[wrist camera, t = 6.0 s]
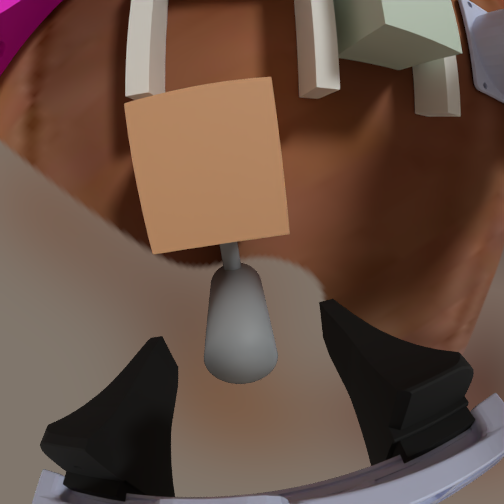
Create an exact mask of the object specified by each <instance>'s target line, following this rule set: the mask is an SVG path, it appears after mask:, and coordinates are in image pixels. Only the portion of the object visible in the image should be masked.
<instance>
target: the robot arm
mask: <svg viewBox="0 0 504 504" xmlns="http://www.w3.org/2000/svg"><path fill="white" fill-rule="evenodd" d="M458 2H459V5H460V9H461V13H462V17H463V21H464V25H465V30H466V34H467V40H468V45H469V51H470V57H471V64H472V72H473V81H474V85H475V87H476V89H477V90H478V91H480V92H482V93H485V94H487V95H489V96H491V97H493V98H495V99H496V100H498V101H500V102H502V103H504V9H501V10H497V11H493V12H489V13H487V12H486V11H484V10H483V9H481V8H480V7H478V6H477V5H475V4H474V3H472V2H471V1H469V0H458ZM319 304H320V312H321V321H322V330H323V338H324V341H325V344H326V347H327V350H328V352H329V355H330V357H331V359H332V361H333V363H334V365H335V367H336V369H337V371H338V373H339V375H340V377H341V379H342V381H343V383H344V385H345V387H346V389H347V391H348V394H349V396H350V398H351V401H352V404H353V407H354V409H355V412H356V415H357V418H358V421H359V424H360V427H361V431H362V434H363V437H364V440H365V444H366V448H367V451H368V455H369V459H370V463H371V466H370V467H367V468H365V469H361V470H358V471H355V472H352V473H349V474H346V475H343V476H339V477H336V478H332V479H328V480H325V481H321V482H317V483H313V484H309V485H304V486H300V487H294V488H289V489H284V490H278V491H272V492H265V493H257V494H248V495H235V496H221V497H175V494H174V487H173V478H172V467H171V426H172V419H173V413H174V407H175V401H176V394H177V388H178V366H177V364H176V362H175V360H174V358H173V357H172V355H171V353H170V351H169V349H168V347H167V345H166V343H165V341H164V339H163V337H162V336H160V337H154V338H150V339H149V340H148V341H147V342H146V344H145V345H144V346H143V347H142V348H141V350H140V351H139V352H138V353H137V354H136V355H135V357H134V358H133V359H132V360H131V361H130V363H129V364H128V365H127V366H126V367H125V368H124V369H123V371H122V372H121V373H120V374H119V375H118V376H117V377H116V378H115V379H114V380H113V381H112V382H111V383H110V384H109V385H108V386H107V387H106V388H105V389H104V390H103V391H102V392H101V393H100V394H98V395H97V396H96V397H94V398H93V399H92V400H90V401H89V402H88V403H86V404H85V405H84V406H82V407H81V408H79V409H78V410H76V411H75V412H73V413H71V414H70V415H68V416H66V417H64V418H62V419H60V420H58V421H56V422H54V423H51V424H49V425H48V426H47V429H46V431H45V433H44V436H43V438H42V441H41V444H40V446H41V449H42V451H43V452H44V453H45V454H46V455H47V456H48V457H49V458H50V459H51V460H53V461H54V462H55V463H56V464H57V465H59V466H60V467H61V468H63V469H64V470H65V471H66V475H65V476H63V475H61V474H59V473H55V472H52V471H49V470H46V469H43V470H42V473H41V476H40V479H39V482H38V485H37V489H36V492H35V495H34V498H33V502H32V504H437V503H439V502H441V501H443V500H444V499H446V498H448V497H449V496H451V495H453V494H454V493H456V492H457V491H459V490H460V489H462V488H463V487H465V486H467V485H468V484H469V483H471V482H472V481H474V480H475V479H477V478H478V477H479V476H481V475H482V474H484V473H485V472H486V471H488V470H489V469H490V468H492V467H493V466H494V465H496V464H497V463H498V462H499V461H500V460H501V459H502V458H503V457H504V402H503V401H502V400H501V398H500V397H499V396H498V395H497V393H494V394H492V395H491V396H490V397H488V398H487V399H485V400H484V401H482V402H481V403H480V404H478V405H477V406H475V407H474V408H473V409H472V410H471V412H470V411H469V410H468V408H467V407H466V406H468V401H467V399H466V398H465V394H466V392H467V390H468V388H469V385H470V383H471V381H472V378H473V369H472V367H471V366H470V364H469V363H468V362H467V361H466V360H465V358H464V357H463V356H462V355H461V354H460V353H459V352H452V351H444V350H437V349H432V348H427V347H423V346H419V345H416V344H413V343H410V342H407V341H404V340H401V339H398V338H396V337H393V336H391V335H389V334H387V333H384V332H382V331H380V330H379V329H377V328H375V327H373V326H371V325H370V324H368V323H366V322H365V321H363V320H362V319H360V318H359V317H357V316H356V315H354V314H353V313H351V312H350V311H349V310H347V309H346V308H344V307H343V306H342V305H340V304H339V303H338V302H336V301H335V300H334V299H330V300H326V301H323V302H320V303H319Z"/></svg>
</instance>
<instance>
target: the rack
mask: <svg viewBox="0 0 504 504" xmlns="http://www.w3.org/2000/svg"><path fill="white" fill-rule="evenodd" d="M294 7H295V21H296V37H297V57H298V82H299V98H313V99H319V98H322V97H324V96H326V95H329V94H331V93H333V92H336V91H338V90H340V74H339V57H338V44H337V32H336V22H335V13H334V4H333V0H294ZM167 11H168V0H131V7H130V16H129V25H128V37H127V52H126V78H125V96H126V97H128V98H131V99H133V100H138V99H141V98H145V97H149V96H153V95H157V94H161V93H165V53H166V28H167ZM412 68H413V80H414V97H415V114H418V115H423V116H427V117H461V108H460V90H459V79H458V69H457V61H456V55H454V56H450V57H445V58H441V59H437V60H433V61H430V62H426V63H422V64H419V65H415V66H412Z"/></svg>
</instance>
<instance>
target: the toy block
mask: <svg viewBox="0 0 504 504" xmlns="http://www.w3.org/2000/svg"><path fill="white" fill-rule="evenodd" d="M61 1H62V0H0V76H1V74H2V73H3V71H4V70H5V68H6V67H7V66H8V64H9V63H10V61H11V60H12V58H13V57H14V56H15V54H16V53H17V52H18V50H19V49H20V48H21V46H22V45H23V44H24V43H25V41H26V40H27V39H28V38H29V36H30V35H31V34H32V33H33V32H34V30H35V29H36V28H37V27H38V26H39V25H40V23H41V22H42V21H43V20H44V19H45V18H46V17H47V16H48V15H49V14H50V13H51V12H52V10H53V9H54V8H55V7H56V6H57V5H58V4H59V3H60V2H61Z"/></svg>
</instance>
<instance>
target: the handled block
mask: <svg viewBox="0 0 504 504" xmlns="http://www.w3.org/2000/svg"><path fill="white" fill-rule="evenodd" d="M124 107H125V115H126V123H127V130H128V137H129V143H130V150H131V156H132V161H133V167H134V173H135V178H136V183H137V188H138V193H139V198H140V203H141V207H142V212H143V216H144V221H145V225H146V229H147V233H148V237H149V241H150V245H151V249H152V253H153V254H159V253H166V252H172V251H178V250H185V249H191V248H198V247H204V246H211V245H218V244H220V250H221V255H222V261H223V266H222V267H221V268H219V269H218V270H217V271H216V273H215V274H214V275H213V278H212V280H211V289H210V298H209V309H208V318H207V329H206V340H205V353H204V362H205V365H206V367H207V369H208V371H209V372H210V373H211V374H212V375H214V376H215V377H216V378H218V379H220V380H222V381H225V382H228V383H235V384H245V383H251V382H255V381H257V380H260V379H262V378H263V377H265V376H267V375H268V374H269V373H270V372H271V371H272V370H273V369H274V367H275V365H276V363H277V358H278V353H277V349H276V344H275V340H274V335H273V331H272V327H271V323H270V318H269V313H268V310H267V305H266V300H265V296H264V292H263V287H262V283H261V279H260V277H259V274H258V273H257V271H255V270H254V269H253V268H252V267H251V266H249V265H247V264H243V263H241V262H240V256H239V249H238V243H237V242H238V241H244V240H251V239H258V238H265V237H272V236H279V235H286V234H290V232H289V221H288V211H287V201H286V191H285V181H284V172H283V163H282V154H281V146H280V138H279V130H278V122H277V114H276V107H275V100H274V93H273V86H272V79H271V77H261V78H250V79H241V80H233V81H225V82H218V83H212V84H205V85H200V86H194V87H189V88H184V89H179V90H174V91H170V92H165V93H161V94H157V95H153V96H149V97H145V98H141V99H138V100H134V101H130V102H127V103H124Z"/></svg>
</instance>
